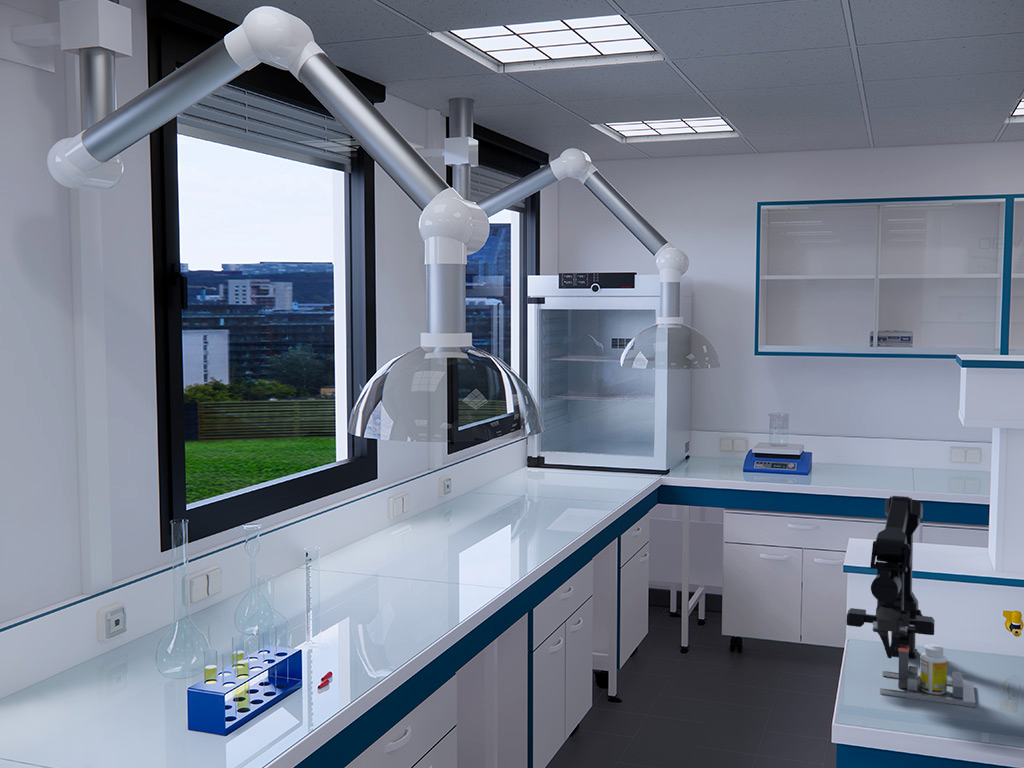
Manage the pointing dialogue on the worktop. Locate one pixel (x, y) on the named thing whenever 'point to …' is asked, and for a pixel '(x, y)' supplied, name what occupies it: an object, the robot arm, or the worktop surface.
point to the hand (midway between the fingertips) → (889, 657)
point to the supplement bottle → (933, 670)
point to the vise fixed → (960, 691)
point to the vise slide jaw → (907, 671)
